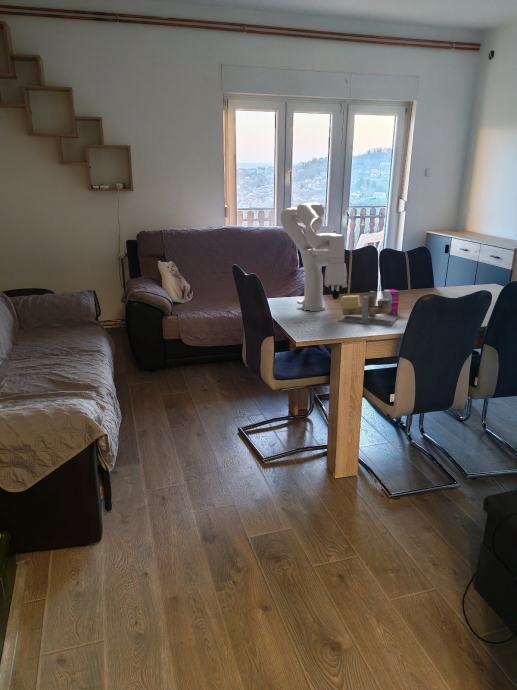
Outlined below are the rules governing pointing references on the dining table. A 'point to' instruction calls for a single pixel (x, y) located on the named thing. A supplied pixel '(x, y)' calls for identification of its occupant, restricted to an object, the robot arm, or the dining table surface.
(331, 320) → the dining table surface
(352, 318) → the stand
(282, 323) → the dining table surface
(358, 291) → the dining table surface
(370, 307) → the beam
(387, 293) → the supplement box
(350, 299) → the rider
